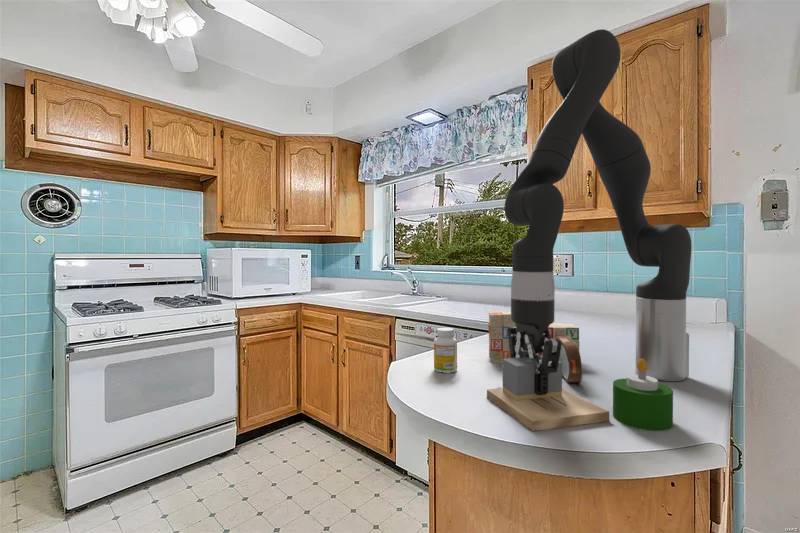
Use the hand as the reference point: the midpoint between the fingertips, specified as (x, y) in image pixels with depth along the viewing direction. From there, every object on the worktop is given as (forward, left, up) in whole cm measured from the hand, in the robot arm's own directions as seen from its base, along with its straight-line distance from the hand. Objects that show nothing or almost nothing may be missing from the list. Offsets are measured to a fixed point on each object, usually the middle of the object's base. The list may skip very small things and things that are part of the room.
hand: (531, 388), depth 72 cm
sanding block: (0, 0, -1) cm, 1 cm away
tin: (-16, -11, -3) cm, 20 cm away
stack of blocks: (-17, -25, -3) cm, 31 cm away
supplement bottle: (+8, -23, -3) cm, 25 cm away
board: (0, +3, -2) cm, 4 cm away
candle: (-13, +12, -3) cm, 17 cm away
